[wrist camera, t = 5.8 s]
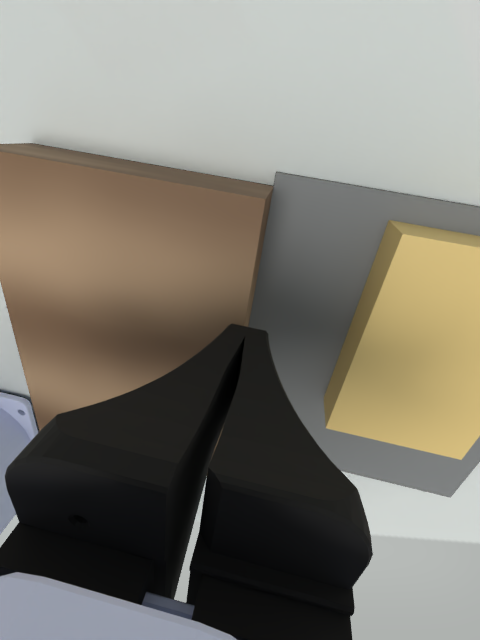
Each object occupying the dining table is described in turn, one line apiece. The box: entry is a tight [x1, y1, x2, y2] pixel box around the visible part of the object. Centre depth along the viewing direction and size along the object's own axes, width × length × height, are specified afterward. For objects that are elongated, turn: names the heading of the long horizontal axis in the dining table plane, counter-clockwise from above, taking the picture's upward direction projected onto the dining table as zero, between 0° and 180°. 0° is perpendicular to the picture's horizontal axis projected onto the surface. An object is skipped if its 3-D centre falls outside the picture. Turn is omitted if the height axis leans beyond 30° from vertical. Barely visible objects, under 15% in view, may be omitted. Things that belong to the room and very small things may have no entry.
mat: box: [248, 172, 480, 497], centre depth 15 cm, size 15×13×1 cm
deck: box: [0, 143, 273, 473], centre depth 15 cm, size 14×10×3 cm
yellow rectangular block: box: [324, 220, 480, 460], centre depth 13 cm, size 9×6×2 cm, turn 172°
